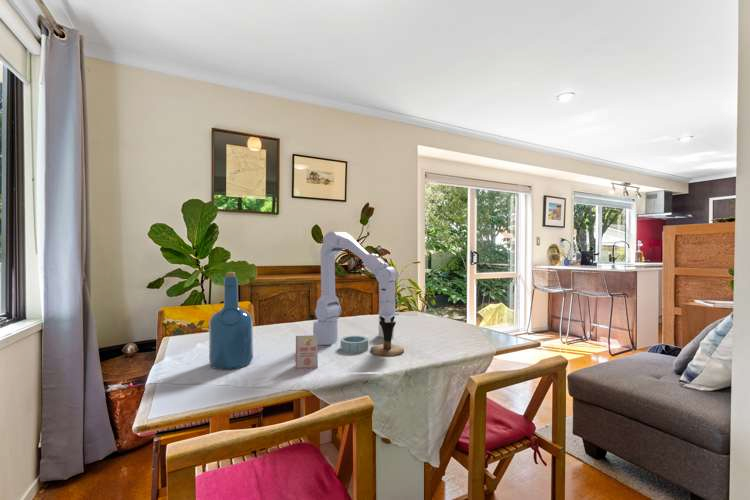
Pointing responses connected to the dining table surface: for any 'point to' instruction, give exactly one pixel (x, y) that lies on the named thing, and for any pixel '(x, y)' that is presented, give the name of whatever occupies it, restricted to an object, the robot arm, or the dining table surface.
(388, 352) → the lid
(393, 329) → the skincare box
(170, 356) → the dining table surface
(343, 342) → the bowl
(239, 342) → the wine bottle
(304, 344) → the beige printed carton
